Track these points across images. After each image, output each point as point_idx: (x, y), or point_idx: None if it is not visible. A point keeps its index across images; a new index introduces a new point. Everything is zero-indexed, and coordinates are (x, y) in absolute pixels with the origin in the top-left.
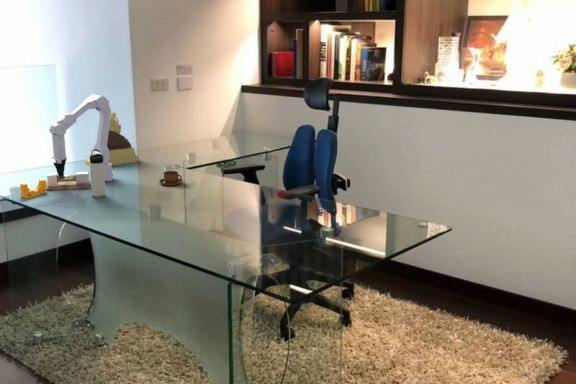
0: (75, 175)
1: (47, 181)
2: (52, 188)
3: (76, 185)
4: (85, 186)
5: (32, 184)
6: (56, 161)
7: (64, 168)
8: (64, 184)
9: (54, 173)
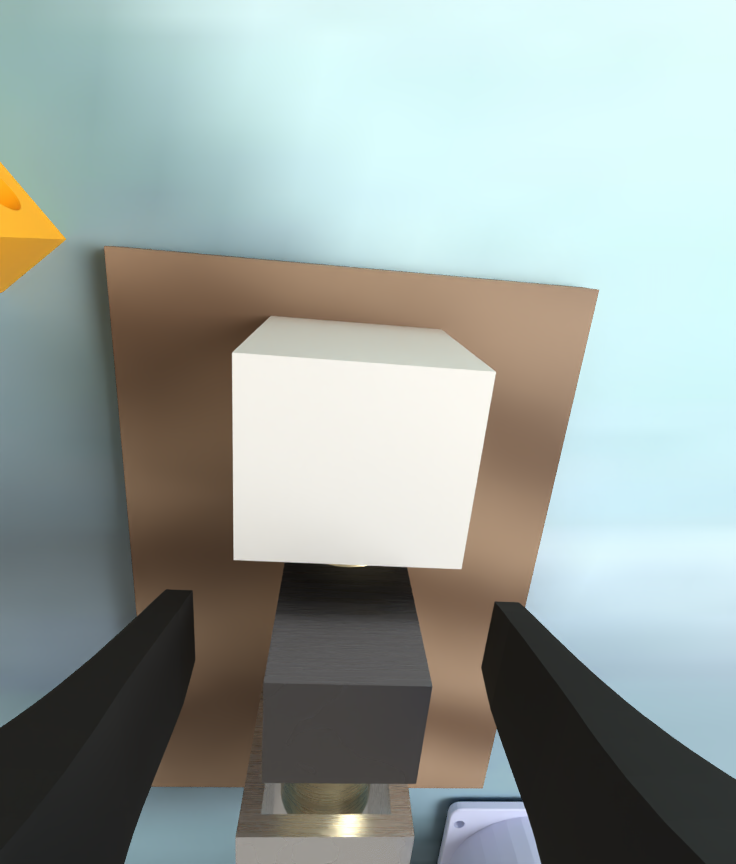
0: (314, 792)
1: (256, 330)
2: (118, 388)
3: (241, 678)
4: (170, 760)
5: (638, 30)
6: (672, 851)
7: (513, 760)
8: None
9: (420, 517)
